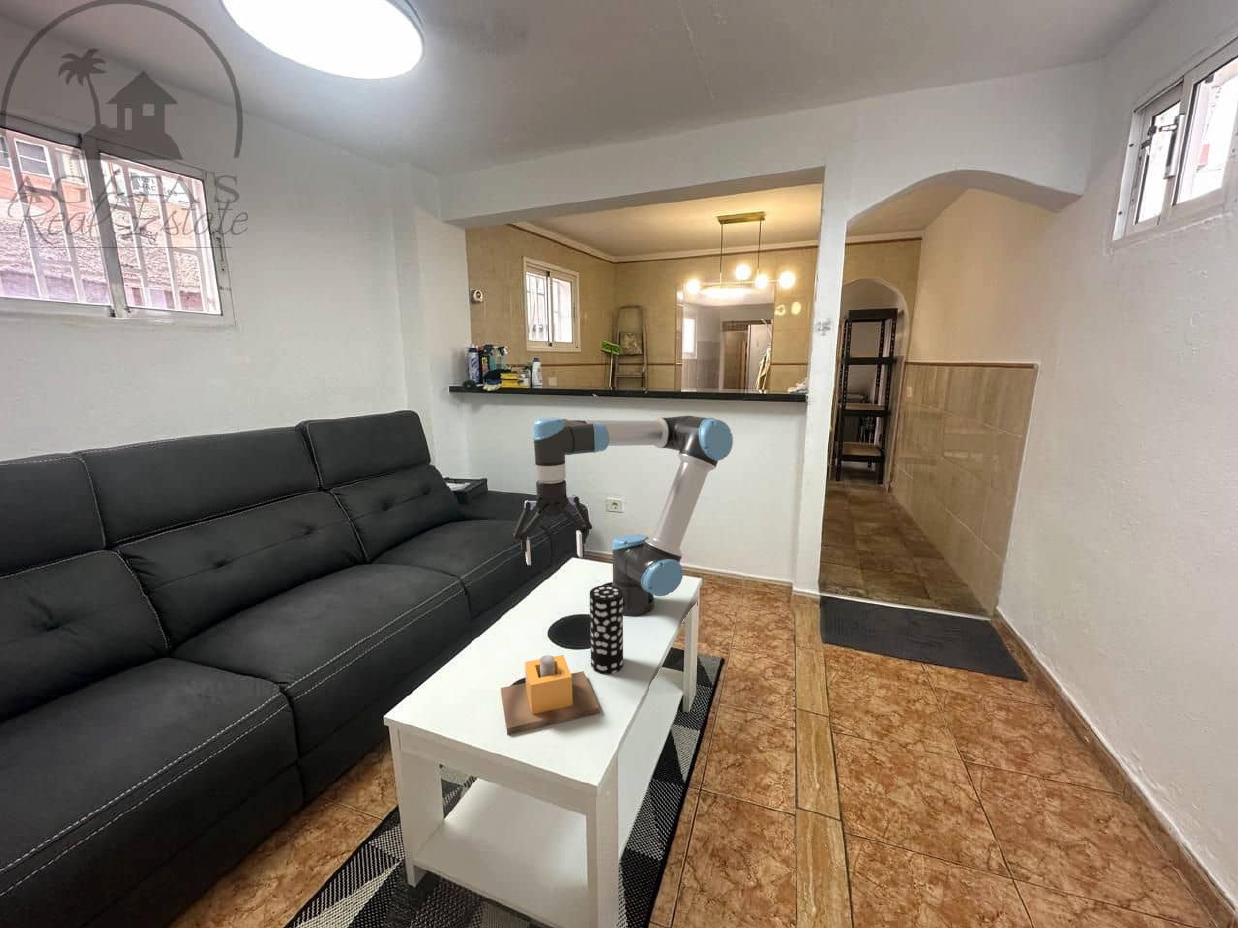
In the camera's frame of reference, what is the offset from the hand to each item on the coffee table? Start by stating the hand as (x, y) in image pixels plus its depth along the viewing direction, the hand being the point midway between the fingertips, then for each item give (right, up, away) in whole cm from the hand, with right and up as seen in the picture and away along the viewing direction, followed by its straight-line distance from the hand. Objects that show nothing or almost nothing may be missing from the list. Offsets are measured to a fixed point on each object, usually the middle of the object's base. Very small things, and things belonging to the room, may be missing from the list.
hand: (554, 559), depth 127 cm
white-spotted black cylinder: (+14, -27, -1) cm, 30 cm away
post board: (+1, -30, -16) cm, 34 cm away
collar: (+1, -28, -16) cm, 33 cm away
